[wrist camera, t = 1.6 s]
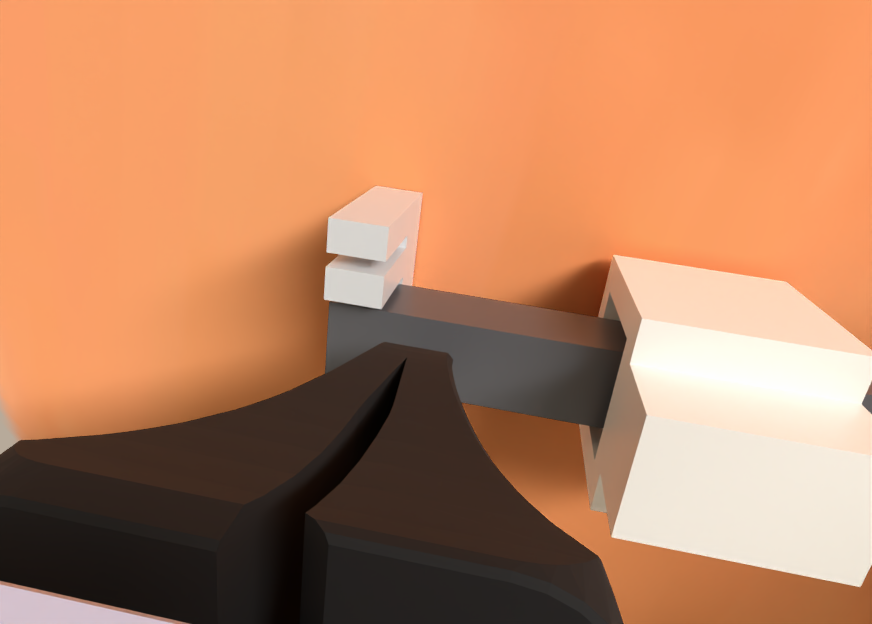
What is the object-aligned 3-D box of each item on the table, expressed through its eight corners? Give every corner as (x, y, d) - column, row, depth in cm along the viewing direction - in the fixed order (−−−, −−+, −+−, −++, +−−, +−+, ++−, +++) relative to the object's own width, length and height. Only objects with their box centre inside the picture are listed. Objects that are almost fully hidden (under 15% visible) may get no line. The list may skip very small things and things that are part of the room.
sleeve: (785, 281, 14) (949, 412, 9) (731, 433, 16) (840, 627, 10) (613, 254, 14) (661, 362, 9) (576, 405, 16) (599, 577, 11)
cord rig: (1211, 312, 13) (1479, 404, 10) (1080, 513, 15) (1257, 655, 12) (375, 185, 15) (323, 220, 11) (359, 381, 17) (310, 466, 13)
